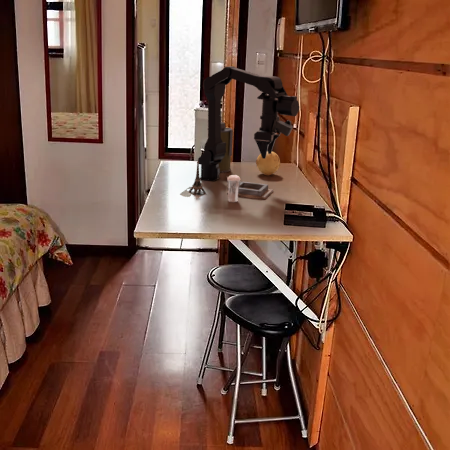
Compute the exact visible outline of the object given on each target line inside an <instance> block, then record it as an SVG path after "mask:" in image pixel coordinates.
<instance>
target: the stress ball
mask: <svg viewBox="0 0 450 450" xmlns="http://www.w3.org/2000/svg"><path fill="white" fill-rule="evenodd" d="M255 164H256V167H257V170H258V171H259V172H260V173H261V174H263V175H265V176H271V175H274V174H275V173H276V172H277V171H278V170H279V168H280V166H281V160H280V156H279V155H278V154H277V153H276V152H275V151H272V152H271V154H268V151H267V154H266V158H265V159H263V158H262V156H261V153H260V154H259V155H258V156H257V158H256V160H255Z"/></svg>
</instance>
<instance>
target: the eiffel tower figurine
mask: <svg viewBox="0 0 450 450" xmlns="http://www.w3.org/2000/svg"><path fill="white" fill-rule="evenodd" d="M196 164H197V165H196V171H195V172H196V173H195V178H194V182H193V184H192V185H191V186H189V187H187V188H186V189H184V190H183V191H182V192H180V193H179V195H180V196H182V197H185V198H190V197H191V196H193V197H196V196H203V195H207V192H206V191H205V189H204V187H203V185H202V182H201V179H200V177H201V176H200V164H199V161H198V160H197V161H196ZM195 199H196V200H197V199H198V200H199V198H194V200H195Z"/></svg>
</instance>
